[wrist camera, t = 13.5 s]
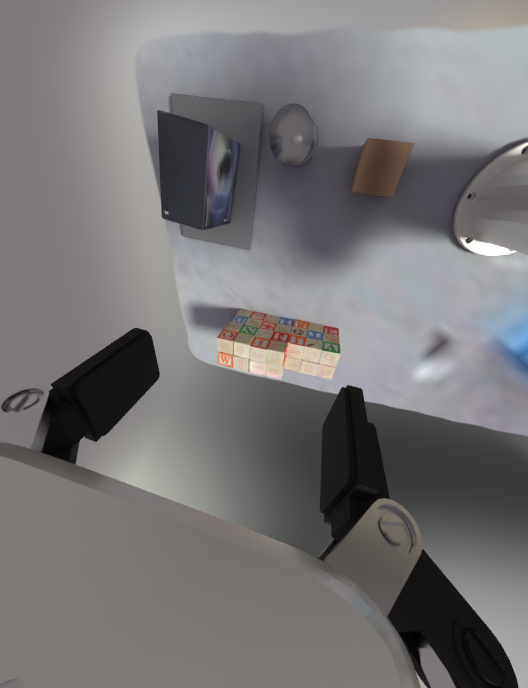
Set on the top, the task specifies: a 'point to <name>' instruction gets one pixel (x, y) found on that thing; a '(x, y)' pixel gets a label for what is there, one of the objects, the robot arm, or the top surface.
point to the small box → (196, 172)
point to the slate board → (246, 130)
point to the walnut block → (380, 167)
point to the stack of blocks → (278, 345)
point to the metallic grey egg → (293, 135)
